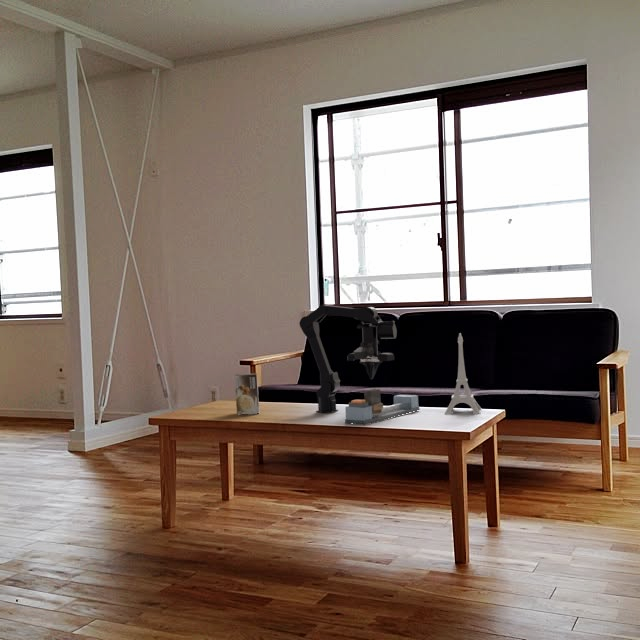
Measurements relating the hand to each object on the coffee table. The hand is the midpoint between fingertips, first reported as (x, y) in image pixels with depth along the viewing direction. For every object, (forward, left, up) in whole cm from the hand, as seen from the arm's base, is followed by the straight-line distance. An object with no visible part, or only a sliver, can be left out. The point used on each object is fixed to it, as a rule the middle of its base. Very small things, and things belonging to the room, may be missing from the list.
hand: (371, 379), depth 308 cm
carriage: (+11, -16, -11) cm, 22 cm away
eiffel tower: (+32, +14, -13) cm, 37 cm away
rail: (+11, -9, -13) cm, 19 cm away
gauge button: (+11, -25, -7) cm, 28 cm away
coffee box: (-46, -22, -13) cm, 53 cm away
